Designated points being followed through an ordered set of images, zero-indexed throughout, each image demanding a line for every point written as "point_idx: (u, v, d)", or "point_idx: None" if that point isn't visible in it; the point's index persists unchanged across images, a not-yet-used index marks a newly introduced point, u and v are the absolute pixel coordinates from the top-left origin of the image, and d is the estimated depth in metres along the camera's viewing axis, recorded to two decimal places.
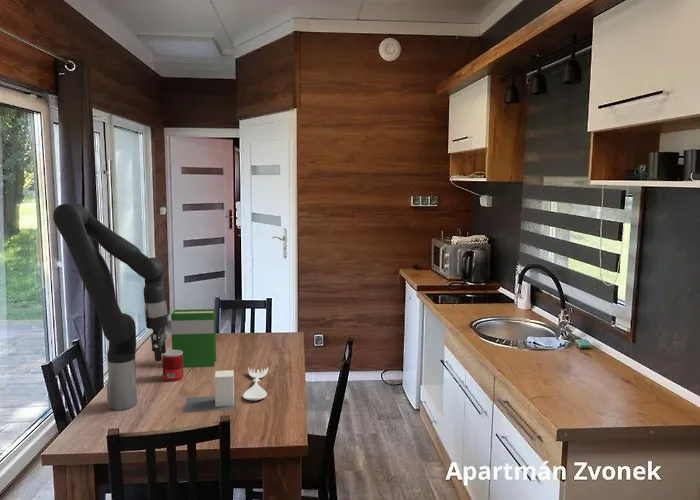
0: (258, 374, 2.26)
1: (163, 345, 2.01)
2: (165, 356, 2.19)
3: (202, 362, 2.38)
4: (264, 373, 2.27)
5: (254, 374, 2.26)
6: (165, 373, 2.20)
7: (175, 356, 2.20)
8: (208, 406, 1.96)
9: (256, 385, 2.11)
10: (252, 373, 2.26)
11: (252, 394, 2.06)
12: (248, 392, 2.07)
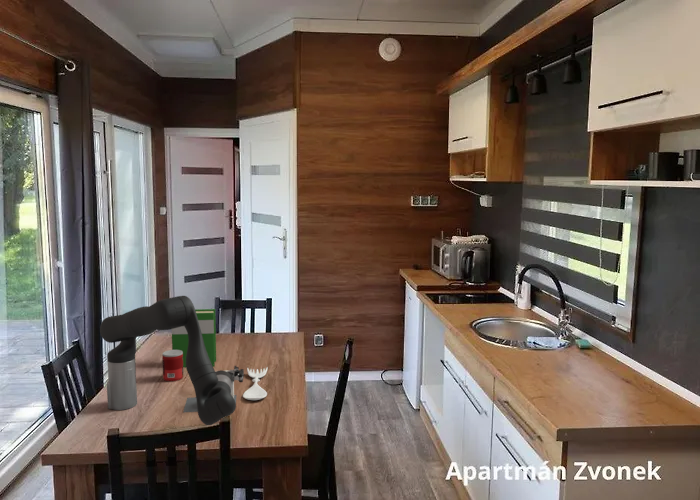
0: (257, 374, 2.26)
1: (234, 373, 1.84)
2: (165, 356, 2.19)
3: None
4: (263, 373, 2.27)
5: (253, 374, 2.26)
6: (165, 373, 2.20)
7: (175, 356, 2.20)
8: None
9: (256, 385, 2.11)
10: (251, 373, 2.27)
11: (252, 394, 2.06)
12: (248, 392, 2.07)
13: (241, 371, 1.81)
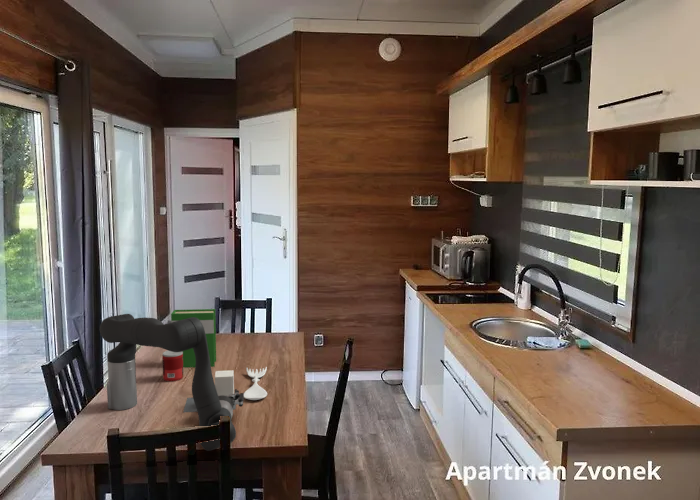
0: (257, 374, 2.27)
1: None
2: (165, 356, 2.19)
3: None
4: (263, 373, 2.27)
5: (253, 374, 2.26)
6: (165, 373, 2.20)
7: (175, 356, 2.20)
8: None
9: (256, 385, 2.12)
10: (251, 373, 2.27)
11: (252, 394, 2.07)
12: (248, 392, 2.07)
13: (241, 395, 1.88)
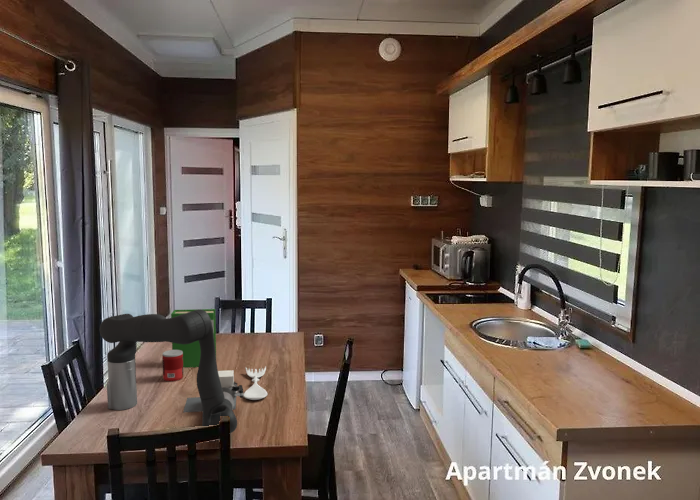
0: (256, 374, 2.27)
1: None
2: (165, 356, 2.19)
3: None
4: (262, 373, 2.27)
5: (252, 374, 2.26)
6: (165, 373, 2.20)
7: (175, 356, 2.20)
8: None
9: (256, 384, 2.12)
10: (250, 373, 2.27)
11: (252, 393, 2.07)
12: (248, 392, 2.08)
13: (240, 387, 1.95)
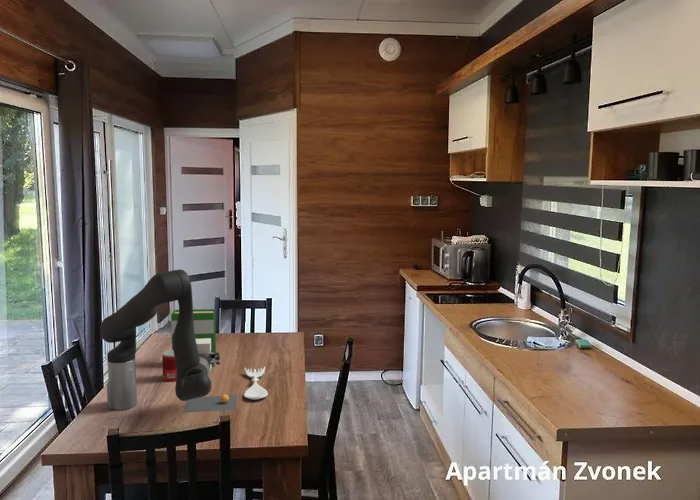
0: (255, 373, 2.27)
1: None
2: (165, 356, 2.19)
3: None
4: (261, 372, 2.27)
5: (251, 374, 2.26)
6: (165, 373, 2.20)
7: None
8: (208, 406, 1.96)
9: (256, 384, 2.12)
10: (249, 373, 2.27)
11: (253, 393, 2.07)
12: (248, 391, 2.08)
13: (217, 354, 1.93)
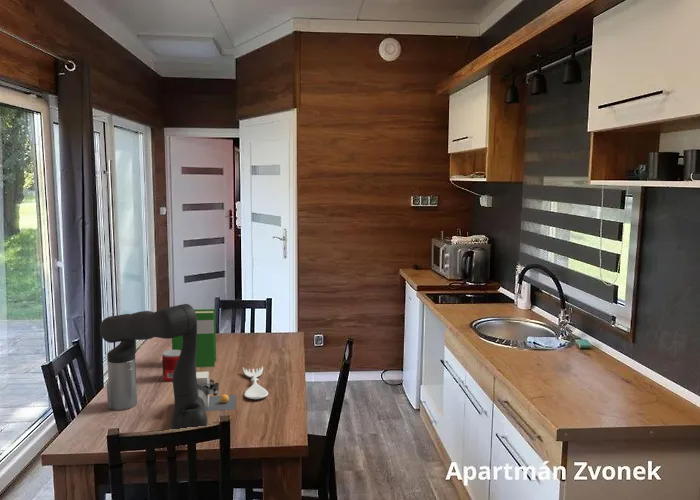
0: (254, 373, 2.27)
1: None
2: (165, 356, 2.19)
3: (202, 362, 2.38)
4: (260, 372, 2.28)
5: (250, 373, 2.27)
6: (165, 373, 2.20)
7: (175, 356, 2.20)
8: (208, 406, 1.96)
9: (256, 384, 2.12)
10: (248, 373, 2.27)
11: (253, 393, 2.07)
12: (249, 391, 2.08)
13: (216, 385, 1.93)
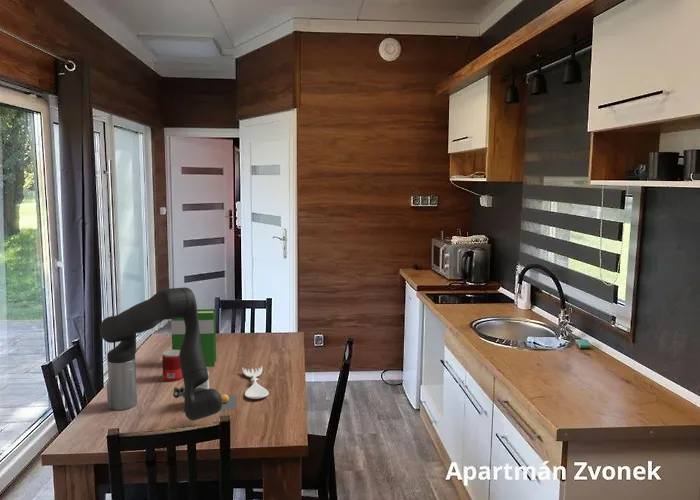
0: (253, 373, 2.27)
1: None
2: (165, 356, 2.19)
3: None
4: (259, 372, 2.28)
5: (249, 373, 2.27)
6: (165, 373, 2.20)
7: (175, 356, 2.20)
8: None
9: (256, 384, 2.13)
10: (247, 372, 2.27)
11: (253, 393, 2.07)
12: (249, 391, 2.08)
13: None
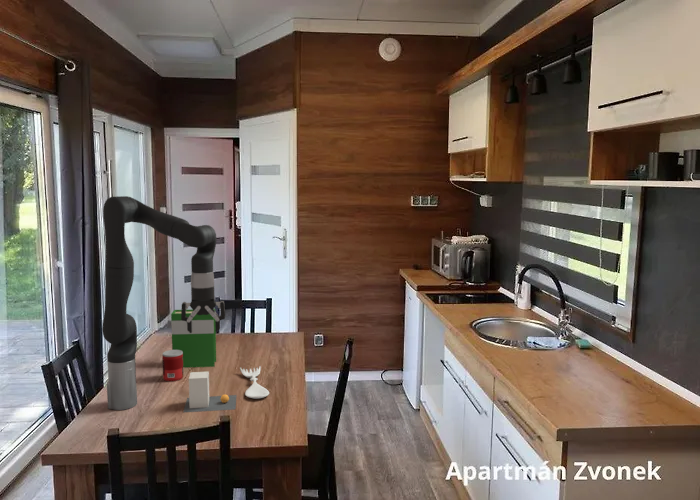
0: (252, 373, 2.27)
1: None
2: (165, 356, 2.19)
3: (202, 362, 2.38)
4: (257, 372, 2.28)
5: (248, 373, 2.27)
6: (165, 373, 2.20)
7: (175, 356, 2.20)
8: (208, 406, 1.96)
9: (255, 384, 2.13)
10: (245, 373, 2.27)
11: (254, 393, 2.08)
12: (249, 391, 2.08)
13: None
